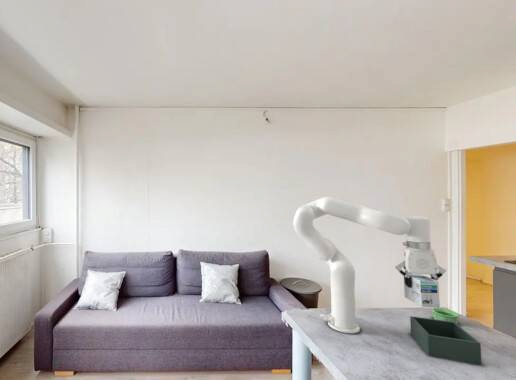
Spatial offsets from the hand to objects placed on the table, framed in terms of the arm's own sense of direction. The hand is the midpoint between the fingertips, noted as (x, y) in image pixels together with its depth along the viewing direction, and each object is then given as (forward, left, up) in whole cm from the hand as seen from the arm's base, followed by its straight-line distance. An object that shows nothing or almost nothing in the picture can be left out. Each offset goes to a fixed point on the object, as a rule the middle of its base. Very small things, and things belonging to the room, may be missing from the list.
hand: (420, 287), depth 110 cm
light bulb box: (0, 0, -7) cm, 7 cm away
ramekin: (+17, +24, -22) cm, 37 cm away
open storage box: (+5, -4, -22) cm, 23 cm away
